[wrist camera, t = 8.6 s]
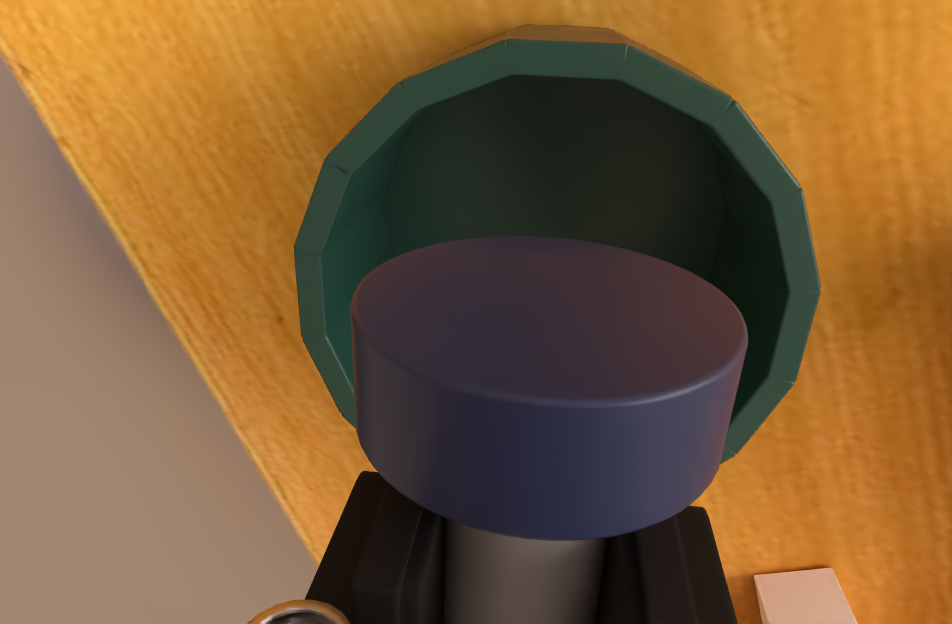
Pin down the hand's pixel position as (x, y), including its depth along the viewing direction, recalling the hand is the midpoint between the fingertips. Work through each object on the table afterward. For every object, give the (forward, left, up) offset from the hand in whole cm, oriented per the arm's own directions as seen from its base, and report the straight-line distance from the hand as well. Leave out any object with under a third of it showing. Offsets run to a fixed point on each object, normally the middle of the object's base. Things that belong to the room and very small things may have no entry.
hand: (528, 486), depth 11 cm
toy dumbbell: (0, 0, -1) cm, 1 cm away
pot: (0, 0, -14) cm, 14 cm away
